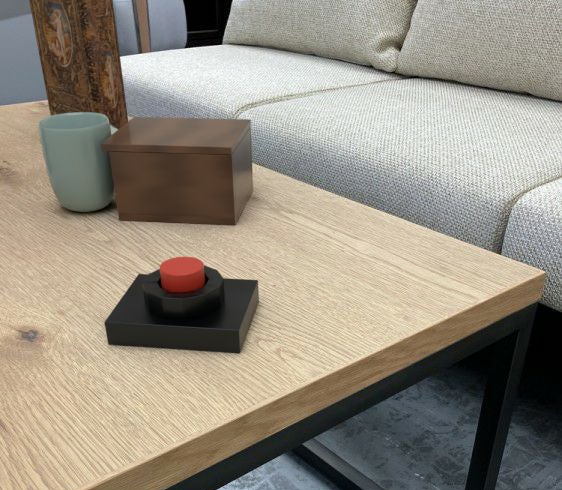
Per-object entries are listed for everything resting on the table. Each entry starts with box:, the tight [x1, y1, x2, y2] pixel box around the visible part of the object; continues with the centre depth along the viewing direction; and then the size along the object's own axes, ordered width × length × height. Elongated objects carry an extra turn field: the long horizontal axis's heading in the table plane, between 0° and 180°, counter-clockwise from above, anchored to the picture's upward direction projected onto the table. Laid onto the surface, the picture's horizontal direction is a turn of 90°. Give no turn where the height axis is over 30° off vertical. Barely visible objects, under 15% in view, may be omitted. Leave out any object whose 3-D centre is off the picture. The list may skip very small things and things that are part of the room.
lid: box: [101, 116, 252, 155], centre depth 79 cm, size 14×12×1 cm
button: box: [159, 256, 205, 292], centre depth 58 cm, size 4×4×2 cm
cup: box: [37, 112, 115, 213], centre depth 81 cm, size 8×8×10 cm
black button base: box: [104, 265, 260, 354], centre depth 59 cm, size 11×9×4 cm
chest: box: [109, 126, 254, 226], centre depth 82 cm, size 14×12×8 cm
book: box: [28, 0, 129, 129], centre depth 105 cm, size 16×6×25 cm, turn 42°
